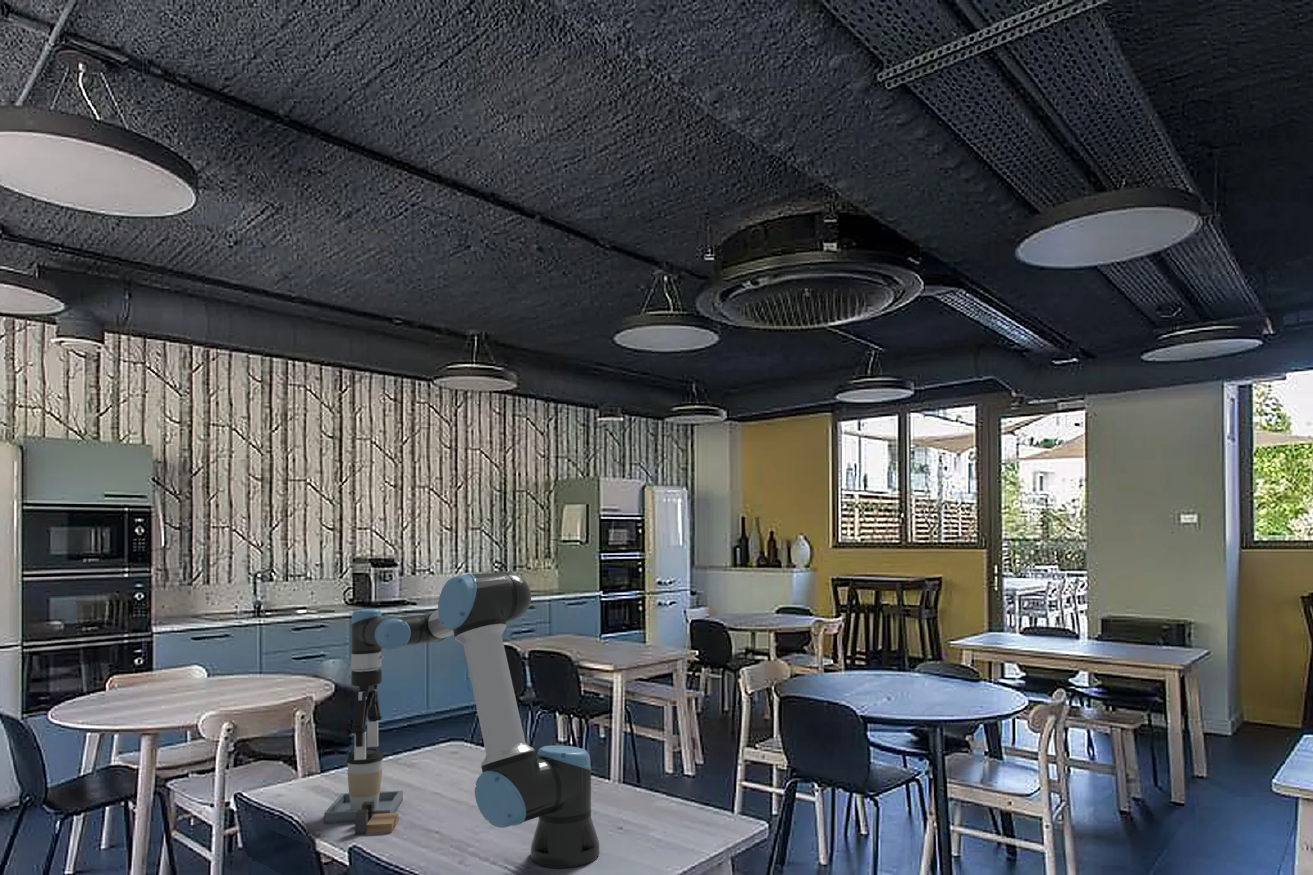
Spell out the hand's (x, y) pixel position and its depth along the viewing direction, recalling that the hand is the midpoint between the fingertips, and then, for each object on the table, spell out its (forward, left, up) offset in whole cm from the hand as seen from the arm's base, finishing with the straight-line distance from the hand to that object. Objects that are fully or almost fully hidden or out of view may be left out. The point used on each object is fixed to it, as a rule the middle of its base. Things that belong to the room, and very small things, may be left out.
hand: (366, 753), depth 228 cm
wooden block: (-13, -7, -15) cm, 21 cm away
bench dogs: (-13, -3, -15) cm, 20 cm away
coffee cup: (0, 0, -14) cm, 14 cm away
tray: (0, 0, -15) cm, 15 cm away
